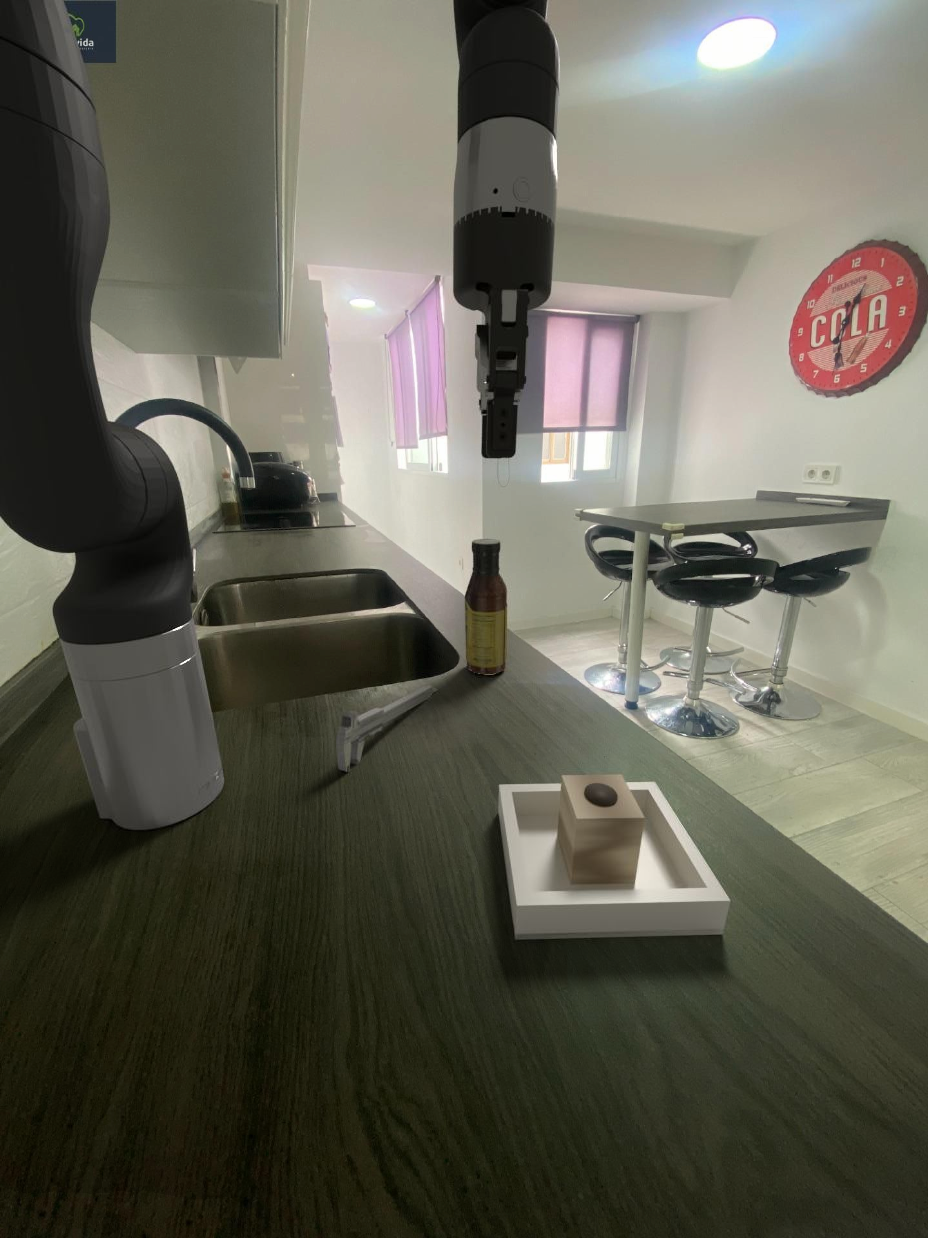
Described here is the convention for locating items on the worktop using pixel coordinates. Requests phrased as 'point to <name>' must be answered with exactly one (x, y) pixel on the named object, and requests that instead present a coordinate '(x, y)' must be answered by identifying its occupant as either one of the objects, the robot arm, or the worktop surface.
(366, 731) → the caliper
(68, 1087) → the worktop surface
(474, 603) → the sauce bottle
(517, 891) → the tray
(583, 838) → the block
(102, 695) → the robot arm
